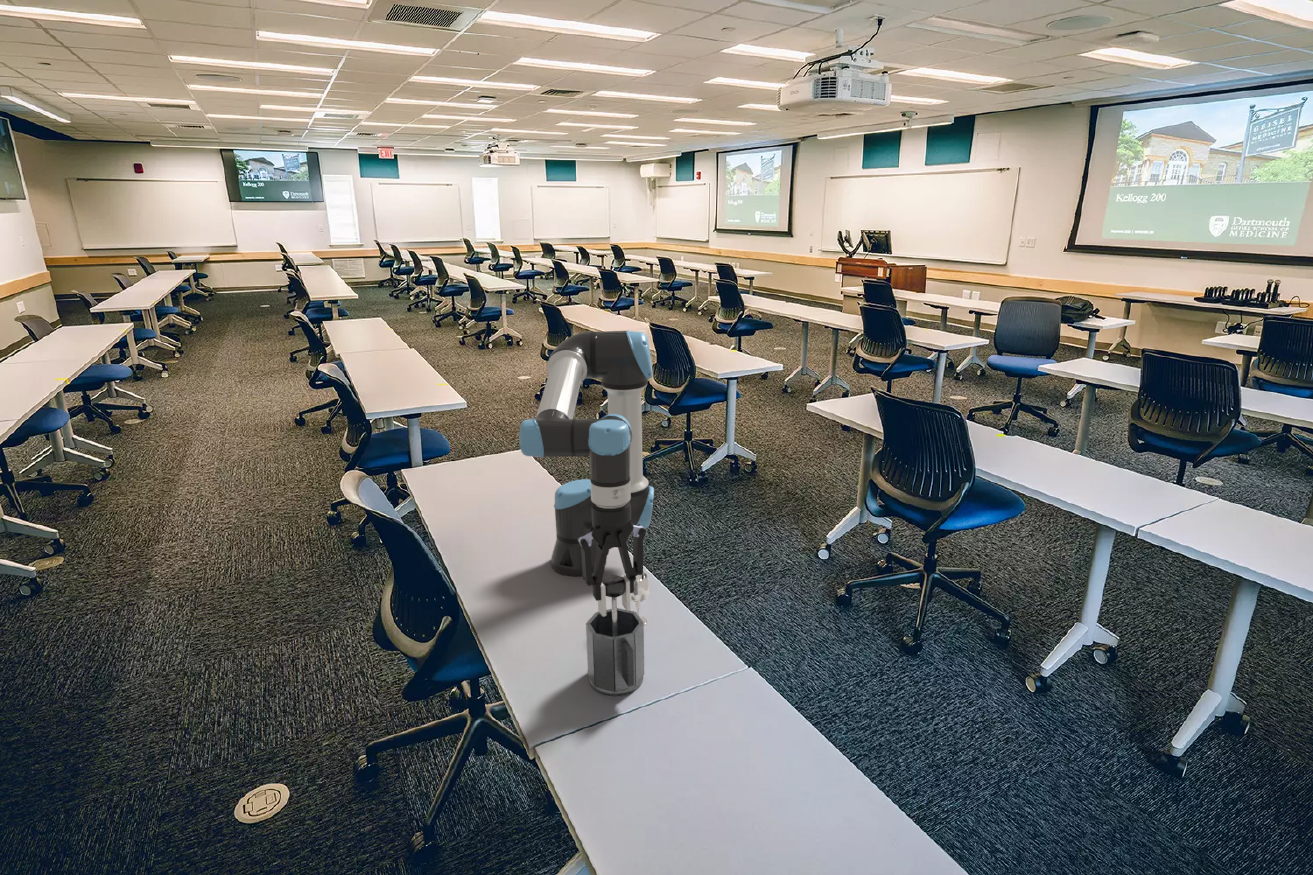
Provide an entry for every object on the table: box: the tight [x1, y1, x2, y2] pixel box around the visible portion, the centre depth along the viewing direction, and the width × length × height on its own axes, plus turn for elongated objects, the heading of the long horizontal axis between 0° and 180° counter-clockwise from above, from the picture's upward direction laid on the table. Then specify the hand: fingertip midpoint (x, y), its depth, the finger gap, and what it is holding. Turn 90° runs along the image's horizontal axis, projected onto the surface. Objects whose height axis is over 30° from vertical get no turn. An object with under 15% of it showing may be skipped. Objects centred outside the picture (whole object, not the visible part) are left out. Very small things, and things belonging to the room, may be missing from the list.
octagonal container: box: [585, 607, 645, 697], centre depth 139 cm, size 14×11×13 cm
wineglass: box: [630, 571, 651, 626], centre depth 161 cm, size 6×6×12 cm
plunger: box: [602, 574, 625, 637], centre depth 138 cm, size 7×7×21 cm
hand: (614, 609), depth 137 cm, fingers closed on plunger, 4 cm apart
